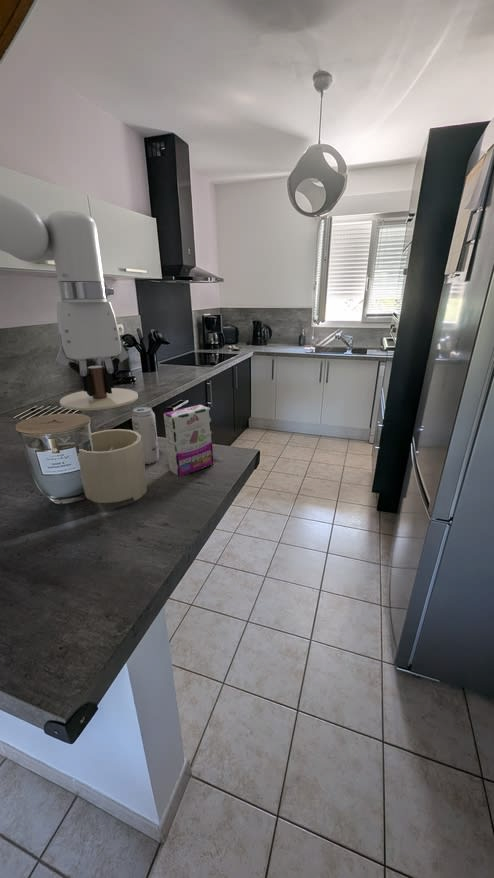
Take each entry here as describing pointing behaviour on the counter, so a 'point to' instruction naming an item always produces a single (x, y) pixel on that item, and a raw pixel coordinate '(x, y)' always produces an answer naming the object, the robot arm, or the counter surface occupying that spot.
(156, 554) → the counter surface
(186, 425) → the candy bar box
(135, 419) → the energy drink can
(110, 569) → the counter surface
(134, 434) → the canister
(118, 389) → the lid
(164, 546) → the counter surface
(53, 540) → the counter surface
